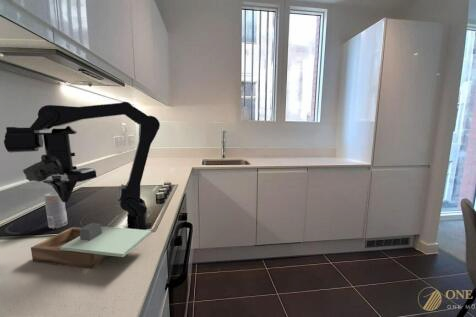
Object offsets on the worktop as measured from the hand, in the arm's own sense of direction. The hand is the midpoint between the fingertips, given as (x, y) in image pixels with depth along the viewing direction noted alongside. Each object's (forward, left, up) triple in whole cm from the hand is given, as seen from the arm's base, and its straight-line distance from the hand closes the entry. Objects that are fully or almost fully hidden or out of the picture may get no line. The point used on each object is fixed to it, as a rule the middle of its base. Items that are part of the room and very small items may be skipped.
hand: (65, 201), depth 66 cm
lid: (+4, +17, -9) cm, 20 cm away
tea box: (+4, +8, -13) cm, 16 cm away
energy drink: (-9, -15, -13) cm, 22 cm away
